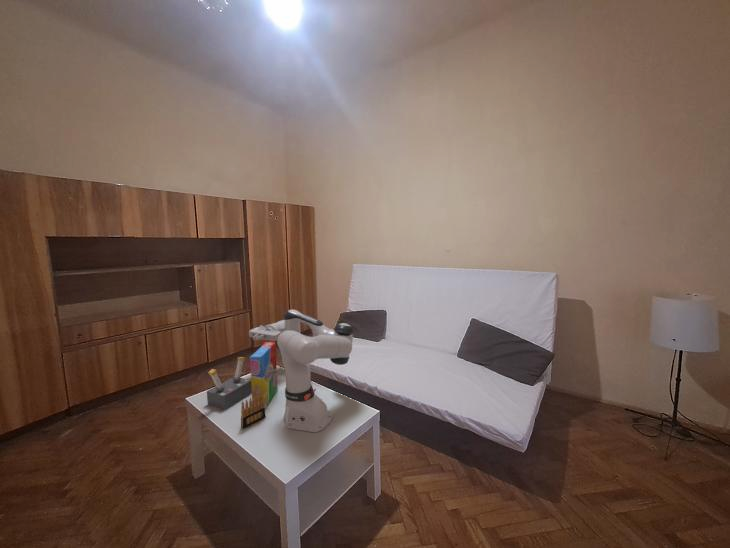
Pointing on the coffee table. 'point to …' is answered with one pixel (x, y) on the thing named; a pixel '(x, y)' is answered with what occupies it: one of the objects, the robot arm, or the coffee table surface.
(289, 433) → the coffee table surface
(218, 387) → the lever
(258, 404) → the ammunition clip
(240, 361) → the lever
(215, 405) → the switch box
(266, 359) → the game box
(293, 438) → the coffee table surface
